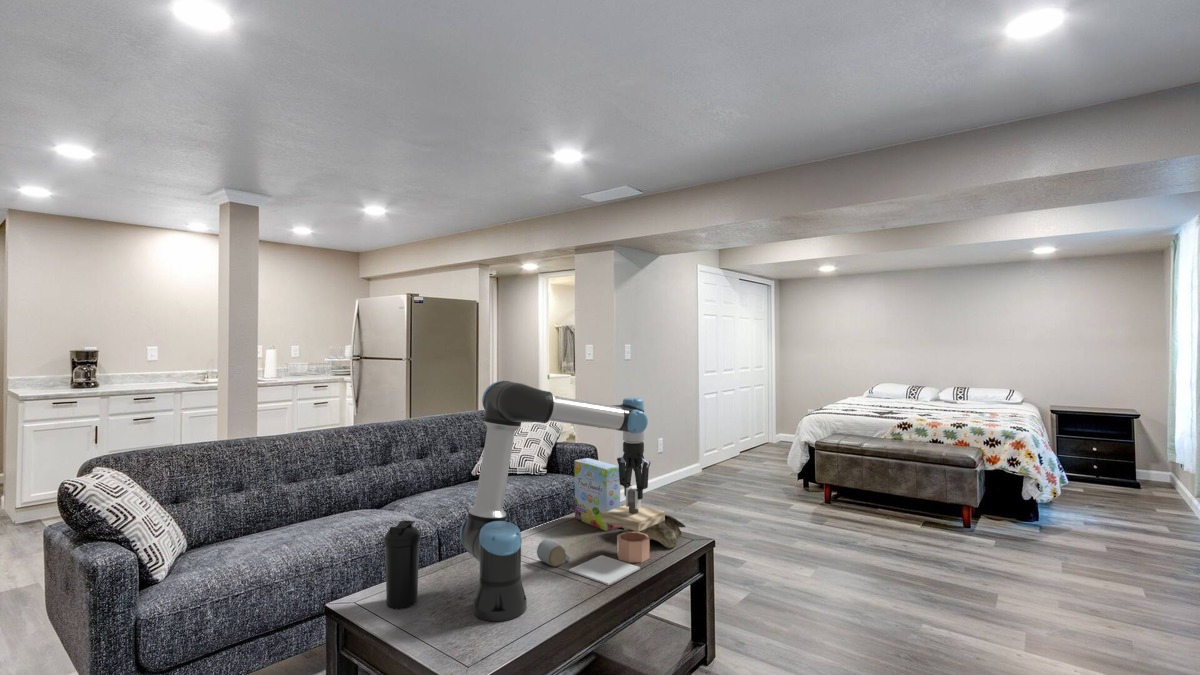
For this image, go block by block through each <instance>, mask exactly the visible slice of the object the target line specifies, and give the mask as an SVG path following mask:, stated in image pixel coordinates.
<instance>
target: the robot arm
mask: <svg viewBox="0 0 1200 675" xmlns="http://www.w3.org/2000/svg"><path fill="white" fill-rule="evenodd" d="M481 402H482V407H483V409H484V416H483V417H484V418H483V424H484V425H485V426H486V428H487V430H486V435H485V441H484V448H483V455H482V460H481V465H480V471H479V478H478V483H477V490H476V495H475V500H474V505H473V506H472V507H470V509H468V513H467V518H465V519H464V521H463V522H462V524H461V527H460V531H459V538H460V542H461V544H462V546H463V548H464V549H465V550H466V551H467V553H468V554H469V555H471V556H473V558H475V559H476V560H477V562H478V563H479V583H478V584H479V585H478V587H477V590H476V591H477V592H476V596H475V598H474V600H473V604H472V608H473V609H472V610H473V611H472V613H473V615H474V616H475V617H477V618H478V619H480V620H482V621H483V620H484V621H488V622H504V621H510V620H513V619H516V618H517V617H519V616H522V615H523V614H524V613H525V612H526V610H527V608H528V606H527V605H528V603H527V602H528V600H527V596H526V593H525V589H524V586H523V583H522V579H521V578H522V577H521V576H522V575H521V574H522V570H521V569H522V566H521V564H522V535H521V534H522V533H521V530H520V527H518V526H517V525H516V524H515V523H512V522H510V521H508V522H507V520H506V518H507V513H506V511H505V510H504V501H505V495H506V490H507V489H506V488H507V483H508V475H509V471H510V463H511V457H512V454H513V452H512V451H513V447H514V446H513V445H514V441H515V440H514V439H515V434H516V431H517V430H518V429H520V428H521V425H522V423H541V424H547V423H549V422H550V421H551V422H558V423H565V424H571V425H572V424H573V425H579V426H584V427H585V426H586V427H593V428H598V429H607V430H615V431H620V432H622V440H623V442H622V452H623V454H622V456H619V457H617V458H616V461H617V464H618V466H619V482H620V486H622V487H623V490H624V497H625V505H626V507H629V489H633V487H632V484H631V483H632V474H633V472H634V478H635V485H636V488H635V489H636V490H635V509H638V508H641V506H642V500H643V498H644V490H646V489H648V488H649V471H650V466H651V461H650V460H646V459H645V457H644V453H645V443H644V440H645V430H646V428H647V427H648V416H647V415H646V413H645V404H644V400H643V398H640V397H626V398H624V399H622V404H614V405H610V404H604V403H603V404H602V403H599V402H591V401H587V400H582V399H581V400H579V399H573V398H568V397H563V396H558V395H557V396H556V395H554V394H553V392H551V391H547V390H543V389H539V388H536V387H532V386H530V385H527V384H525V383H519V382H514V381H509V380H500V381H496V382H492V383H491V384H490V385H489V386H488V387H487V388H486V389H485V391H484V392H483V394H482V400H481Z"/></svg>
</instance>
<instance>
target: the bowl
mask: <svg viewBox="0 0 1200 675" xmlns="http://www.w3.org/2000/svg"><path fill="white" fill-rule="evenodd" d="M650 540H651V539H649V537H648V535H647V534H644V533H641V532H626V531H624V532H621V533H619V534H617V535H616V555H617V560H619V561H622V562H625V563H628V564H631V563H644V562H645V561H647V560H649V559H650V557H651V556H650V553H651V552H650V550H651V548H650V547H651V546H650Z"/></svg>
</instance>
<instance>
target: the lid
mask: <svg viewBox="0 0 1200 675" xmlns="http://www.w3.org/2000/svg"><path fill="white" fill-rule="evenodd" d="M636 489H637V488H632V489H629V507H626V504H622V505H623V506H621V505H620V507H618V508H615V509H612V510H609V511H607V512H604V513H602V522H603V523H607V524H611V525H615V526H618V527H620V528H622V529H624V528H626V529H630V530H634V531H637V532H639V531H641V530H644V529H646V528H648V527H651V526H653V525H655V524H658V523H660V522H662V521H664V520H665V515H666V513H665V512H666V511H664V510H659V509H656V508H651V507H646V506H642V505H641V508H638V509H635V490H636Z"/></svg>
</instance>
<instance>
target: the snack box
mask: <svg viewBox="0 0 1200 675" xmlns="http://www.w3.org/2000/svg"><path fill="white" fill-rule="evenodd" d="M618 507H621V485H620V482H619V465H615V464H613V463H608V462H605V461H601V460H598V459H593V458H589V457H586V458H581V459H580V458H579V459H576V460H574V519H575V520H578V521H581V522H583V523H585V524H587V525H590V526H592V527H595V528H597V529H600V530H602V531H605V532H609V531H613V530H616V529H619V528H621V527H618V526H615V525H611V524H607V523H603V522H602V513H604V512H607V511H609V510H612V509H615V508H618Z"/></svg>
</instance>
